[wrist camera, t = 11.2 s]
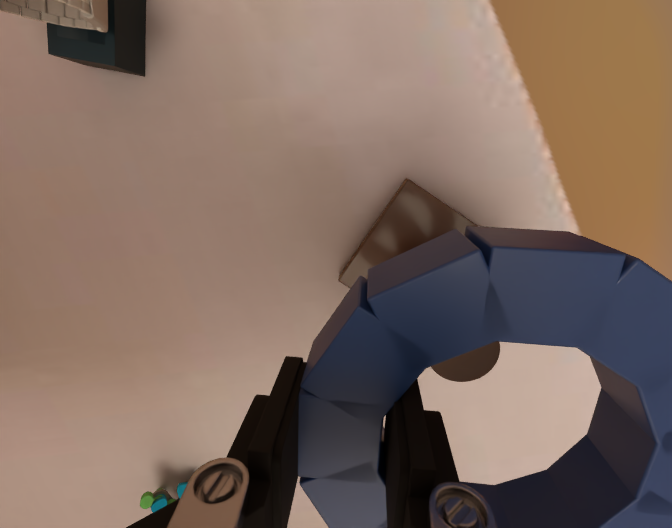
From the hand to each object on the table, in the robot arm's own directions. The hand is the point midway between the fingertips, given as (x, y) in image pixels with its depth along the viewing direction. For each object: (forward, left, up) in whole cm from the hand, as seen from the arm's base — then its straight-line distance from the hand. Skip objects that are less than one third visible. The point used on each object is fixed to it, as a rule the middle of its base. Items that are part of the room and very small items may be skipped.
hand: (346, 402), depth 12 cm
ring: (+4, +2, -1) cm, 5 cm away
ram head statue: (-23, +4, -17) cm, 29 cm away
